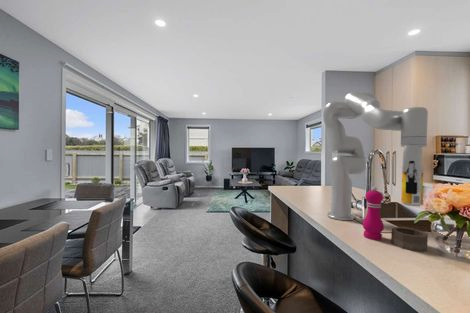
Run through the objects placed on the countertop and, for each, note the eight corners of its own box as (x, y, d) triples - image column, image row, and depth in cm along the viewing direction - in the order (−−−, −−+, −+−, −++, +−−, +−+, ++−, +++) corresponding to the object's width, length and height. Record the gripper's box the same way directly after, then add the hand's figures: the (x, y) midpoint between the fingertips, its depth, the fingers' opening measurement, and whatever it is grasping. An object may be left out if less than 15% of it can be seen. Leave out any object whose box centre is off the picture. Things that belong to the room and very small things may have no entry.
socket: (393, 237, 94) (394, 225, 94) (427, 245, 88) (428, 231, 88) (389, 245, 86) (390, 231, 86) (426, 253, 80) (427, 239, 80)
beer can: (414, 203, 89) (415, 163, 89) (426, 207, 83) (427, 163, 83) (397, 203, 89) (398, 162, 89) (408, 206, 83) (410, 163, 83)
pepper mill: (386, 241, 90) (388, 188, 90) (365, 239, 92) (367, 187, 91) (379, 235, 97) (381, 185, 97) (359, 233, 99) (361, 184, 98)
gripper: (403, 143, 95) (401, 189, 95) (397, 141, 82) (396, 193, 82) (427, 143, 90) (426, 191, 90) (426, 140, 77) (424, 196, 77)
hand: (411, 192), depth 86 cm, fingers closed on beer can, 6 cm apart
